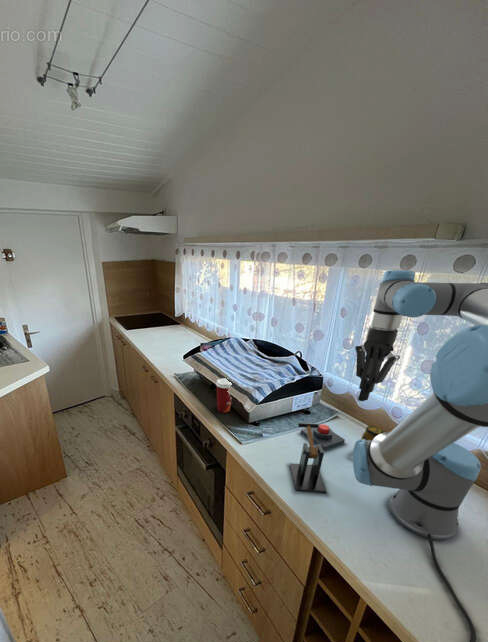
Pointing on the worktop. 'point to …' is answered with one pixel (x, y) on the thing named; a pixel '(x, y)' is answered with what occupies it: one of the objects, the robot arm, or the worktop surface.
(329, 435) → the button box
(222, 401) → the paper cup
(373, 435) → the condiment
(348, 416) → the worktop surface
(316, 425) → the small hammer
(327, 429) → the button
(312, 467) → the rod bracket
